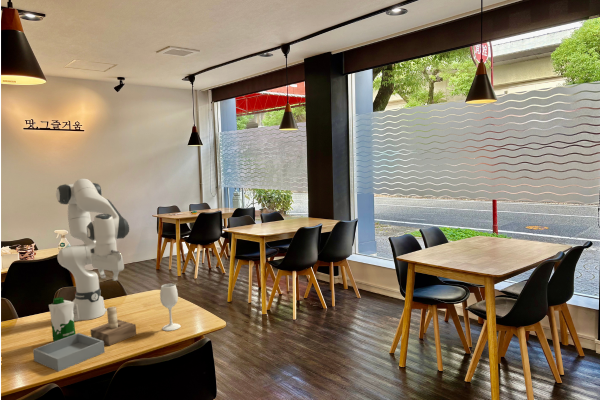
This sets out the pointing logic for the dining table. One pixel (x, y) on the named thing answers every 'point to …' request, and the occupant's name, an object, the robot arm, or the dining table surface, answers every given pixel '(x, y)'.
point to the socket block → (114, 332)
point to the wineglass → (169, 303)
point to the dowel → (112, 317)
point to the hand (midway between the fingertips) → (109, 279)
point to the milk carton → (62, 318)
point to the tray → (68, 351)
